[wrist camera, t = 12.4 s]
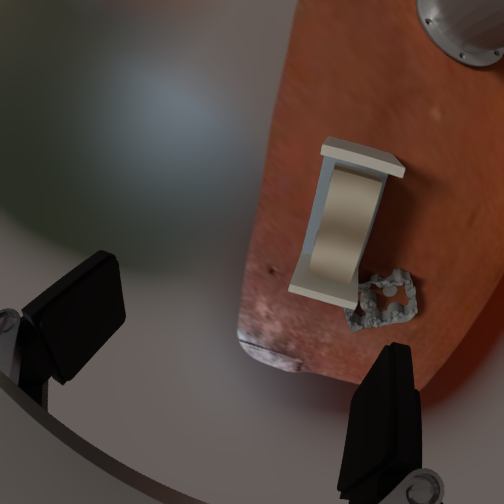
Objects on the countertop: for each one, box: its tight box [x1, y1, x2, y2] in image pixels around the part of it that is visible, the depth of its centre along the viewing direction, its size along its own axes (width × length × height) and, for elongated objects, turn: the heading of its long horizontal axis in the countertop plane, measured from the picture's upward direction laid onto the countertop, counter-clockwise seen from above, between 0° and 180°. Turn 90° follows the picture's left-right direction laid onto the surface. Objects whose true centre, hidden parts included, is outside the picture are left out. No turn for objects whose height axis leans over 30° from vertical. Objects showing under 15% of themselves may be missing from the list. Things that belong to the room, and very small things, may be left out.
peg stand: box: [288, 136, 405, 310], centre depth 33 cm, size 17×8×9 cm, turn 172°
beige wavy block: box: [307, 162, 382, 284], centre depth 32 cm, size 12×5×4 cm, turn 172°
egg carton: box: [343, 268, 418, 332], centre depth 39 cm, size 11×8×4 cm
